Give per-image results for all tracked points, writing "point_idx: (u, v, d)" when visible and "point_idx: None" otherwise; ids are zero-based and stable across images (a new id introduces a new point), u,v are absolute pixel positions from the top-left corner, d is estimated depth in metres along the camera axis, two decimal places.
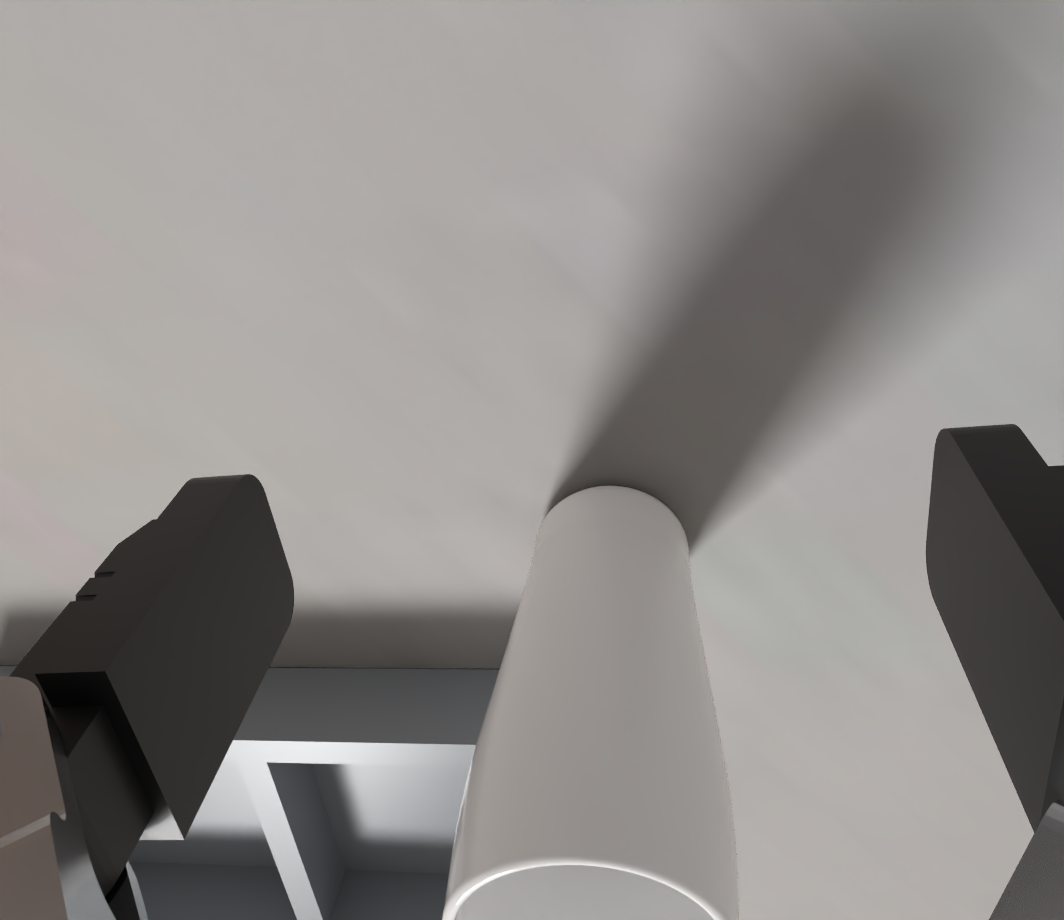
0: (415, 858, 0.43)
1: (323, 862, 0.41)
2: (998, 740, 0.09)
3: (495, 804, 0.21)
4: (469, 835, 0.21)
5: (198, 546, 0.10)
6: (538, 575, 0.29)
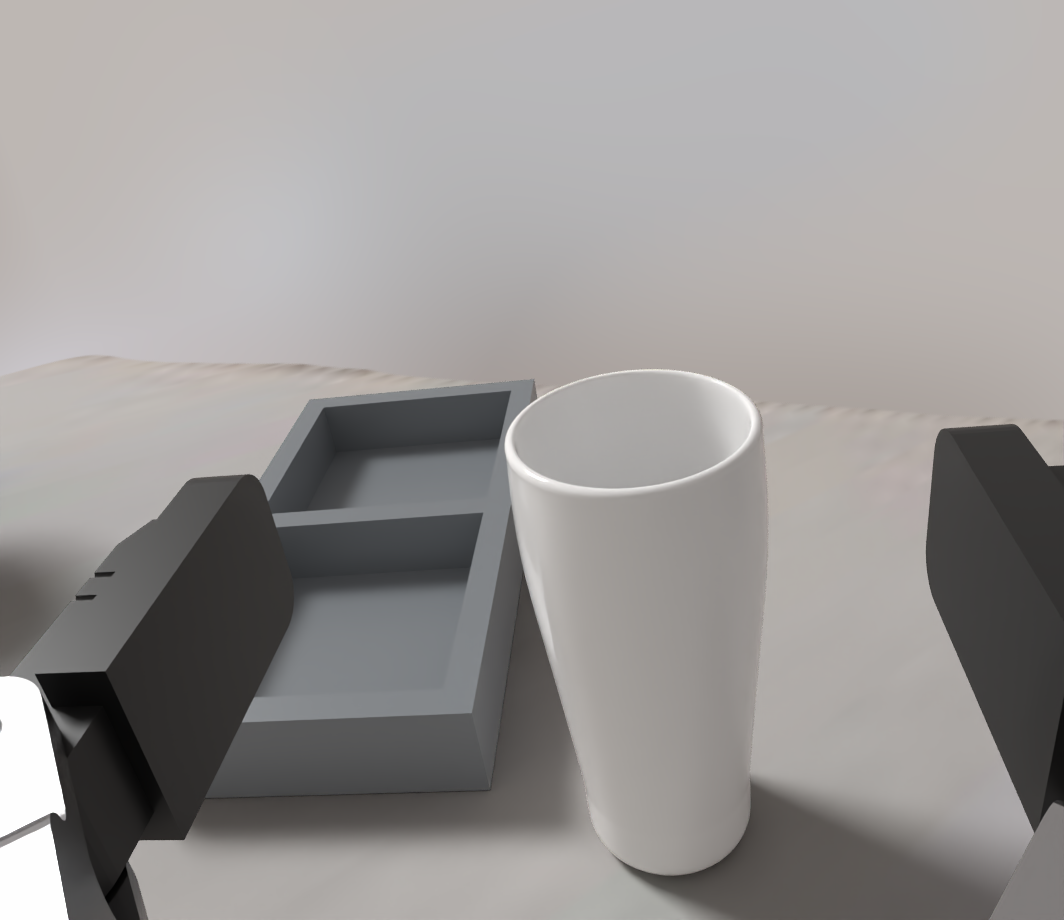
0: None
1: (317, 550, 0.44)
2: (998, 740, 0.09)
3: None
4: None
5: (198, 546, 0.10)
6: None
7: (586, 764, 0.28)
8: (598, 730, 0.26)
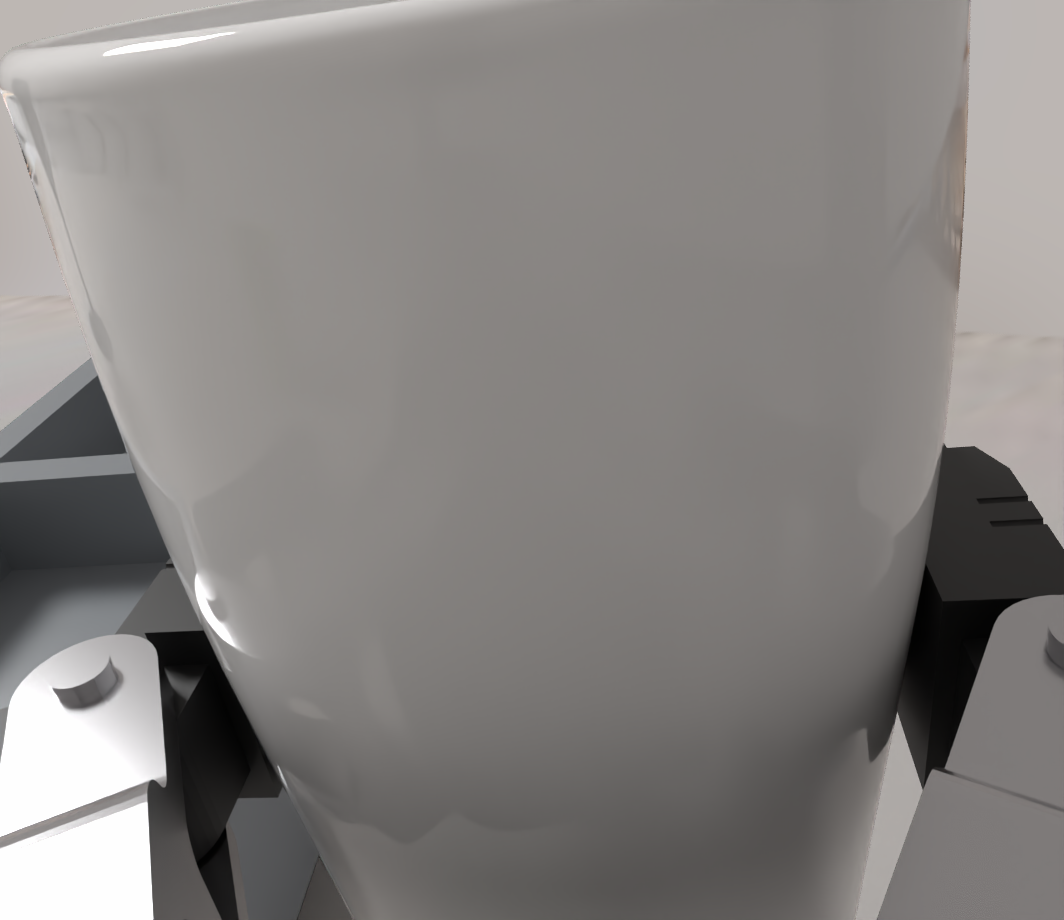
0: None
1: (79, 521, 0.27)
2: None
3: None
4: None
5: None
6: None
7: None
8: None
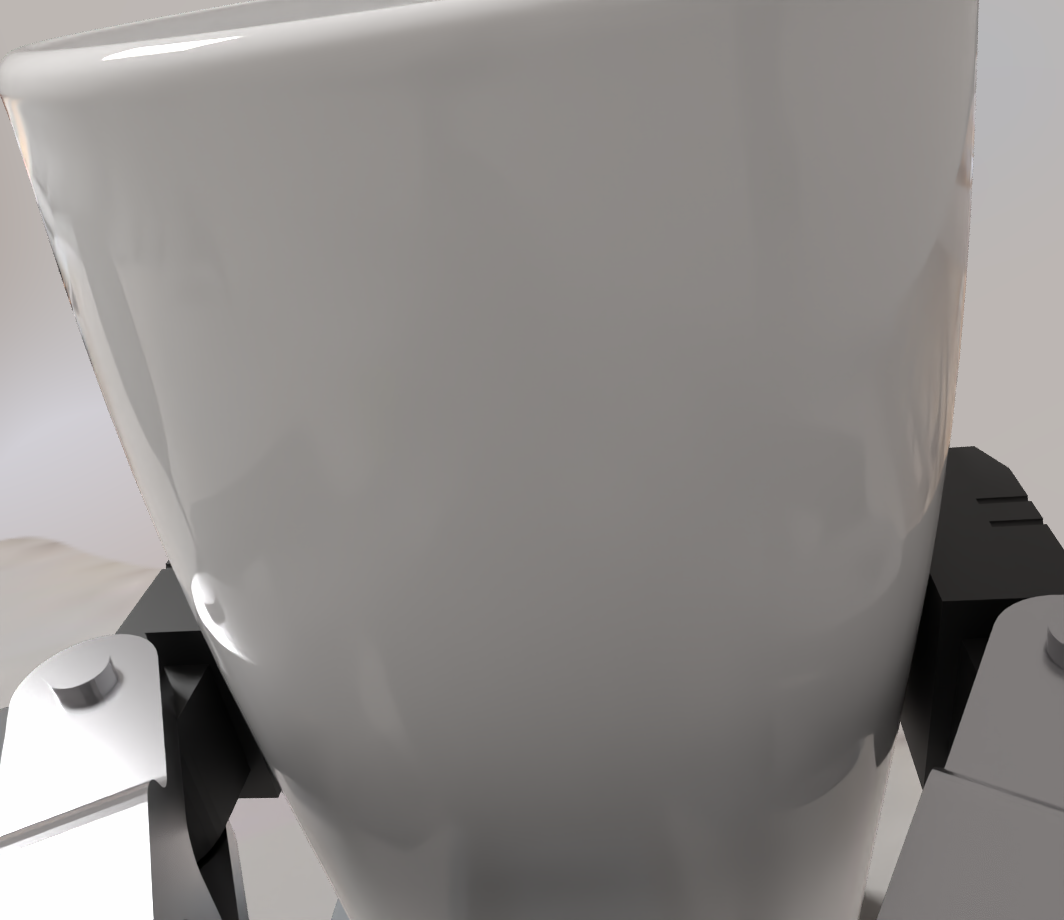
0: None
1: None
2: None
3: None
4: None
5: None
6: None
7: None
8: None
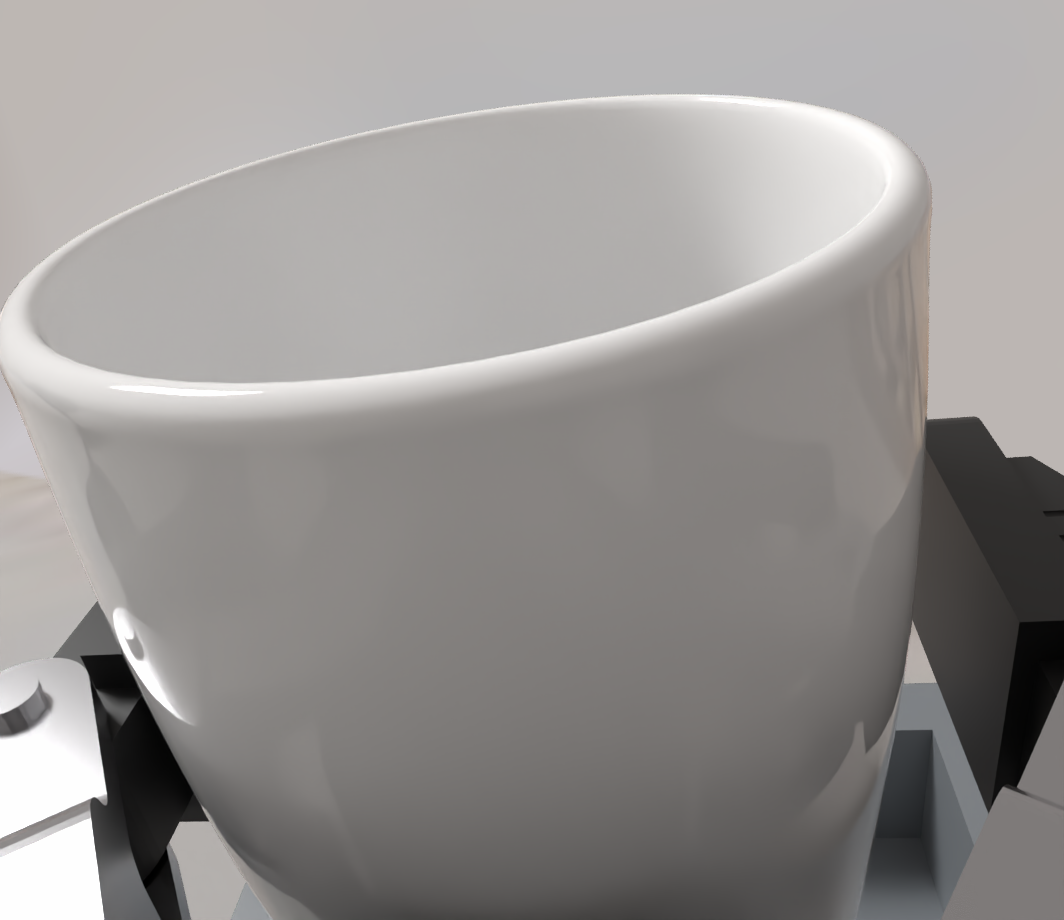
0: None
1: None
2: (956, 723, 0.09)
3: None
4: None
5: None
6: None
7: None
8: None
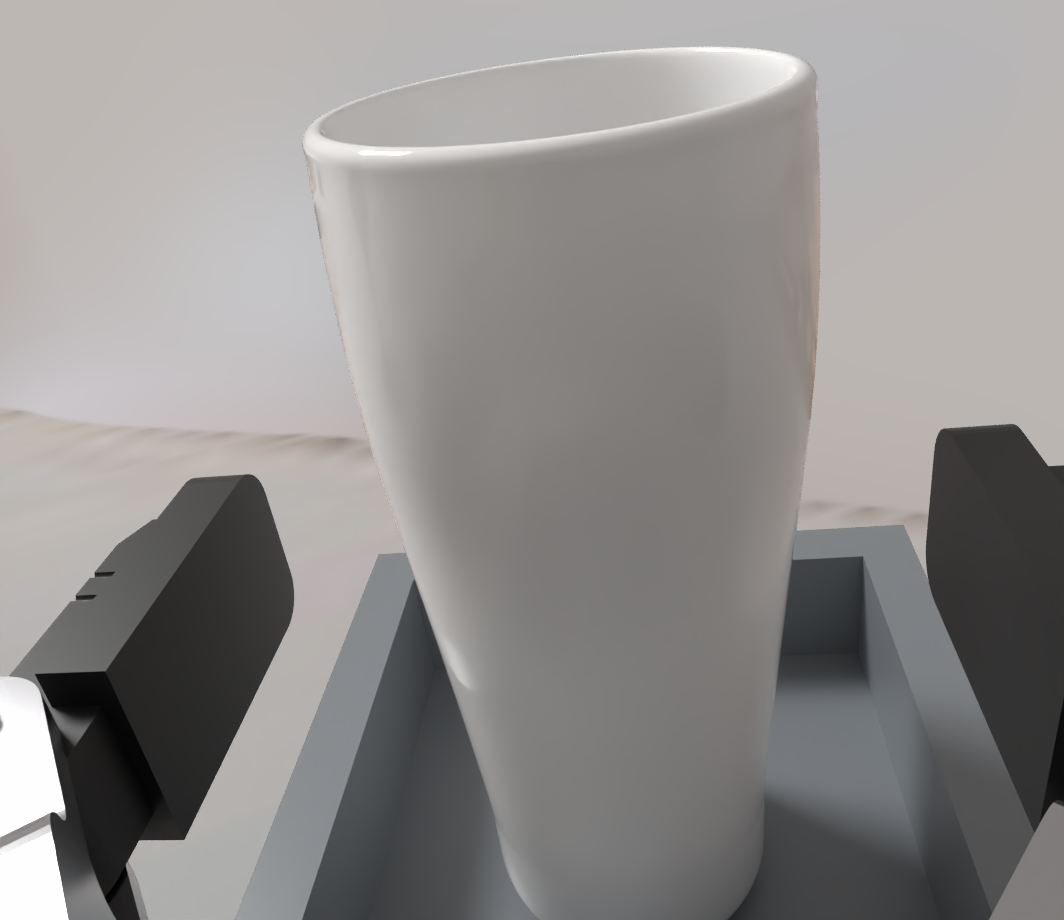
0: None
1: None
2: (998, 740, 0.09)
3: None
4: None
5: (198, 546, 0.10)
6: None
7: (484, 764, 0.16)
8: (495, 700, 0.14)
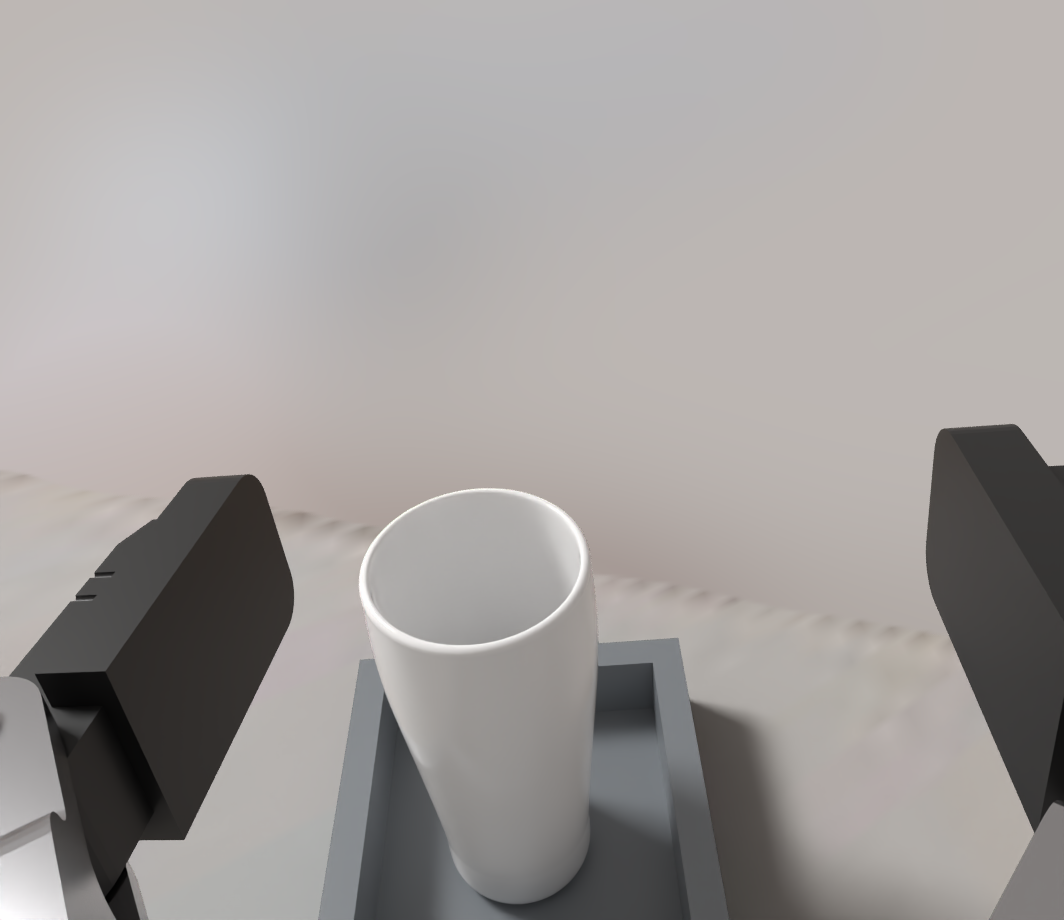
0: None
1: None
2: (998, 739, 0.09)
3: None
4: None
5: (198, 546, 0.10)
6: None
7: (443, 824, 0.32)
8: (451, 807, 0.30)
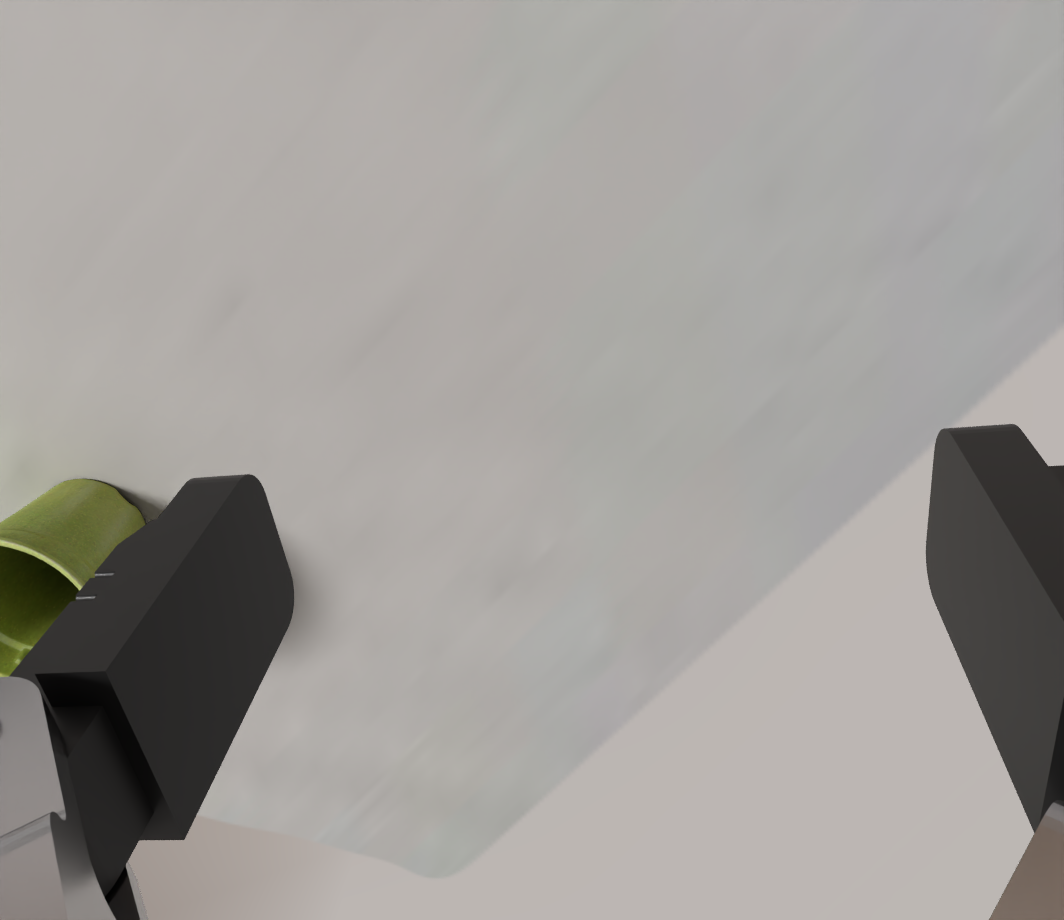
0: None
1: None
2: (998, 740, 0.09)
3: None
4: None
5: (198, 546, 0.10)
6: None
7: None
8: None
